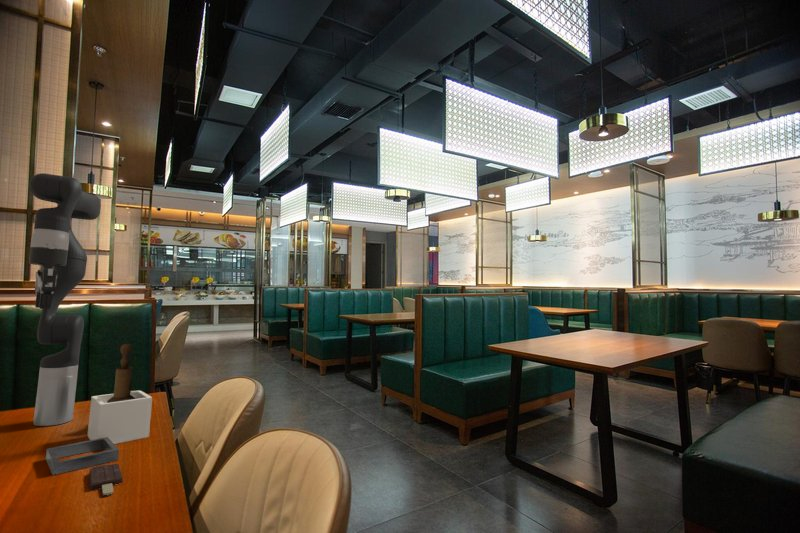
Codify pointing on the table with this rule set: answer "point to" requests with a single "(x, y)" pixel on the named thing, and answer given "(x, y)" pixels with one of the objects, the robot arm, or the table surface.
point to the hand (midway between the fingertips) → (42, 308)
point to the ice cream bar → (105, 477)
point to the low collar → (82, 461)
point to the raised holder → (120, 418)
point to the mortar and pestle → (123, 377)
